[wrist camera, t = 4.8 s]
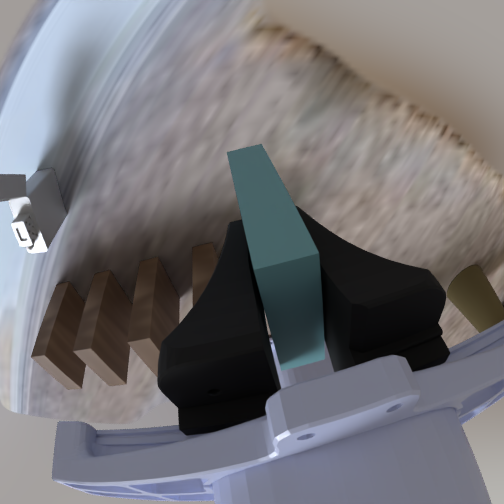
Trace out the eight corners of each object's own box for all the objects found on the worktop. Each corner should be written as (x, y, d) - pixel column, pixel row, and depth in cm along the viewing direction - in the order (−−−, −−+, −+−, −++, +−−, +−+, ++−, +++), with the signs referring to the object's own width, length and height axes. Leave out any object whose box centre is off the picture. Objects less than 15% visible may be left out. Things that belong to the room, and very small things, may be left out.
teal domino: (261, 144, 14) (319, 252, 7) (278, 231, 17) (324, 359, 11) (226, 152, 14) (253, 269, 7) (249, 239, 17) (281, 371, 11)
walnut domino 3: (158, 256, 24) (149, 338, 18) (179, 298, 27) (179, 376, 21) (140, 261, 24) (127, 342, 18) (163, 302, 27) (159, 379, 21)
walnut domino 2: (109, 269, 24) (90, 348, 18) (135, 308, 27) (126, 384, 21) (94, 274, 24) (73, 351, 18) (120, 312, 27) (109, 386, 21)
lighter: (67, 216, 21) (28, 291, 14) (49, 219, 20) (8, 292, 14) (45, 128, 16) (-19, 179, 10) (25, 133, 16) (-40, 186, 10)
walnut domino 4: (212, 242, 24) (219, 323, 18) (228, 286, 27) (239, 365, 21) (192, 247, 24) (193, 329, 18) (210, 291, 27) (217, 369, 21)
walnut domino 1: (69, 281, 24) (44, 355, 18) (96, 317, 27) (81, 388, 21) (56, 284, 24) (30, 356, 18) (83, 320, 28) (68, 389, 21)
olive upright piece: (439, 298, 34) (481, 366, 26) (466, 261, 31) (516, 329, 22) (462, 300, 36) (501, 361, 28) (487, 267, 33) (532, 327, 24)
